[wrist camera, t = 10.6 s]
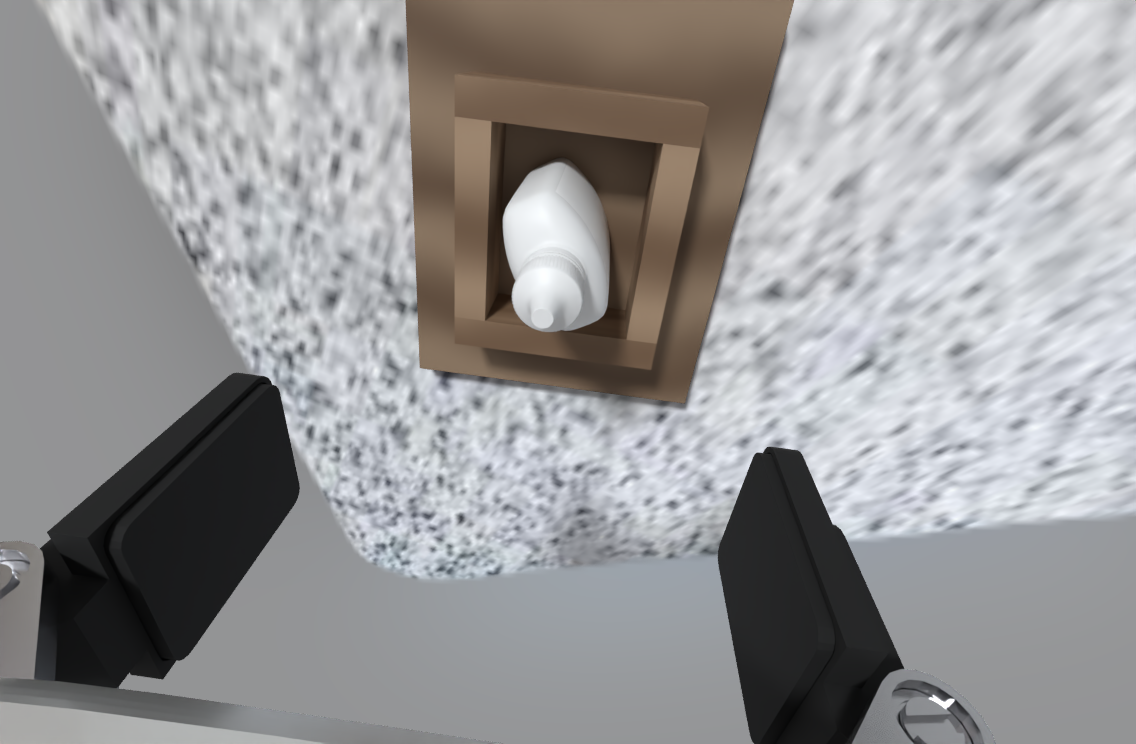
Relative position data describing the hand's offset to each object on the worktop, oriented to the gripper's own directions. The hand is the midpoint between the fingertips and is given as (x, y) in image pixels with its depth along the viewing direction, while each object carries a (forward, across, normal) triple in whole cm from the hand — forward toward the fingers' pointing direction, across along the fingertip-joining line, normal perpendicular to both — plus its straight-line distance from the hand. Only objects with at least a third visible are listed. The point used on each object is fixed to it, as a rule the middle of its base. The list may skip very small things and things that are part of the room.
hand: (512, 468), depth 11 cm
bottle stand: (+20, 0, 0) cm, 21 cm away
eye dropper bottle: (+19, 0, 0) cm, 19 cm away
